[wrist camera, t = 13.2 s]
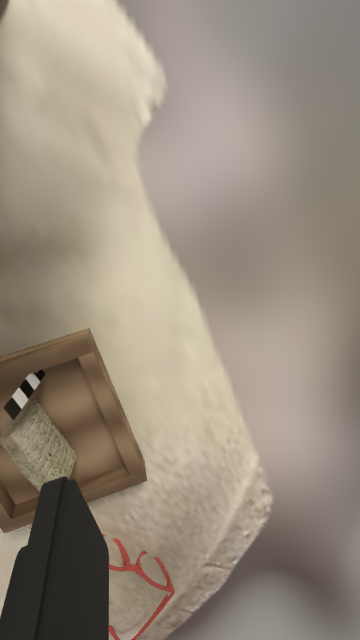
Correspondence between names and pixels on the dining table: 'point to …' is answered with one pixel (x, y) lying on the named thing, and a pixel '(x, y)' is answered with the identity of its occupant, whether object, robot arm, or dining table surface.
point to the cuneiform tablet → (35, 437)
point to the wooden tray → (69, 423)
